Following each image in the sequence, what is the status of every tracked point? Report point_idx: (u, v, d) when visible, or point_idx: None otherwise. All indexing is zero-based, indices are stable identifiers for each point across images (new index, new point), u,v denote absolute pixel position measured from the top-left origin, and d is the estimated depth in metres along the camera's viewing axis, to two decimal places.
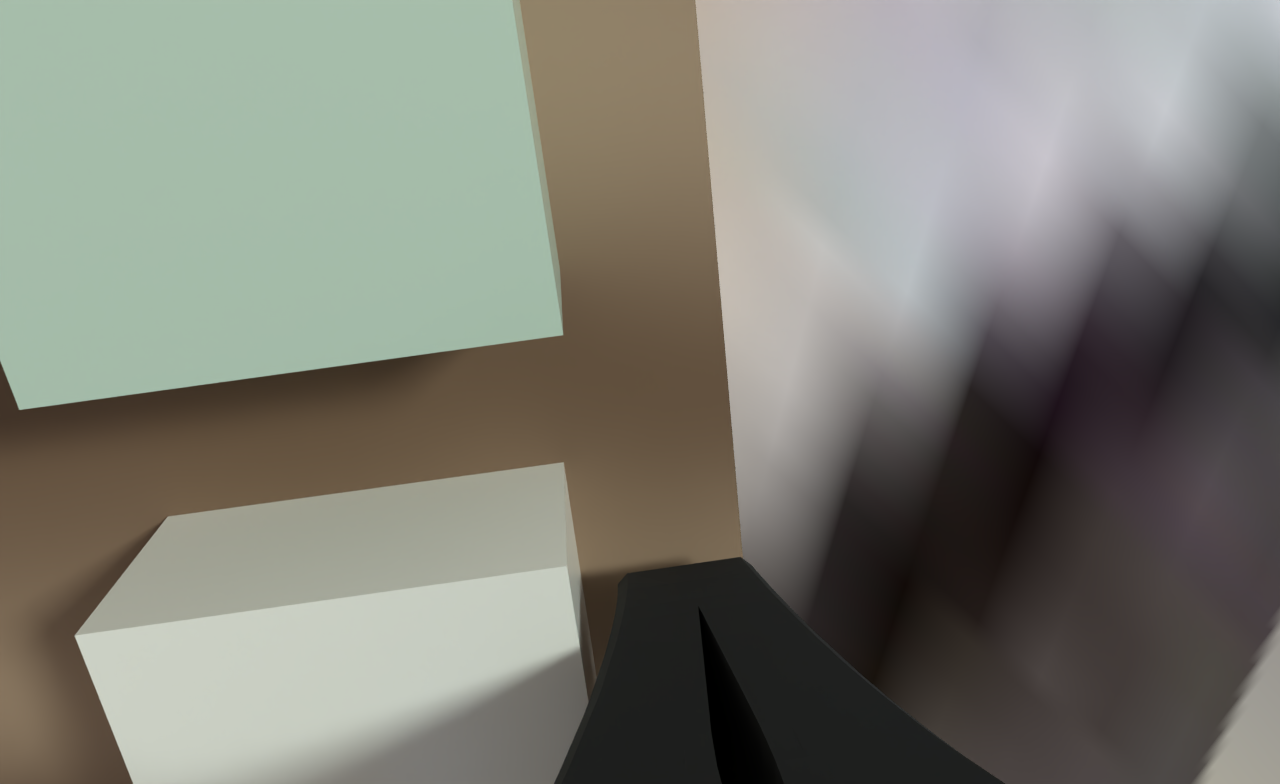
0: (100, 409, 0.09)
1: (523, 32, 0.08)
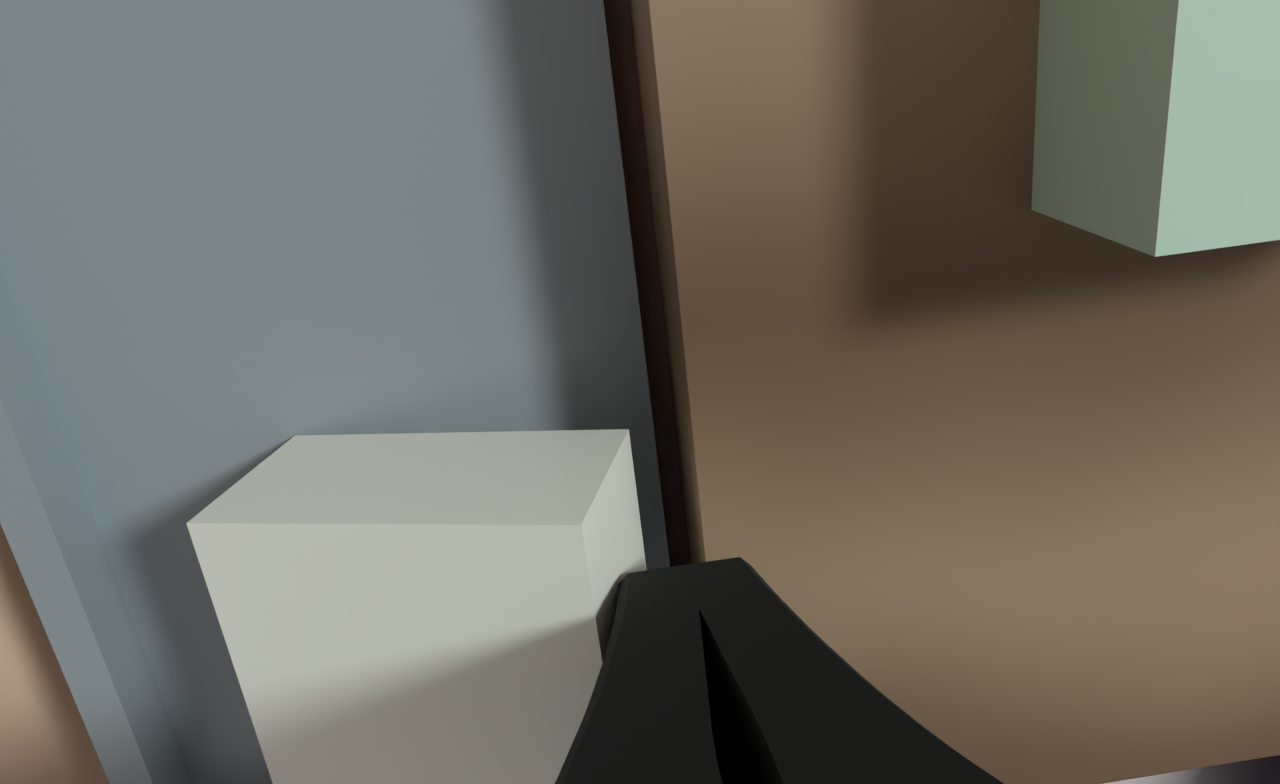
0: (977, 291, 0.09)
1: None
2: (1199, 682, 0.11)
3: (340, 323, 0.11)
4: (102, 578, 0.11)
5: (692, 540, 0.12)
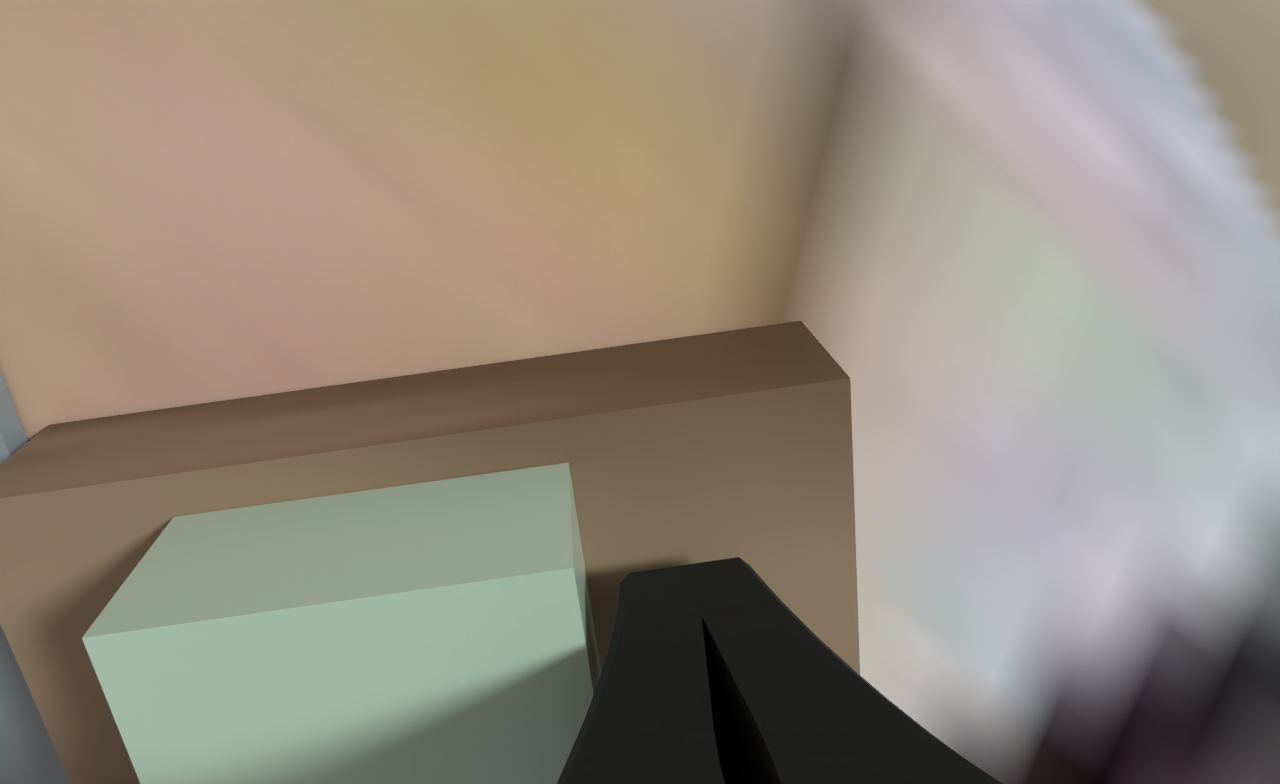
0: None
1: (593, 633, 0.10)
2: None
3: None
4: None
5: None
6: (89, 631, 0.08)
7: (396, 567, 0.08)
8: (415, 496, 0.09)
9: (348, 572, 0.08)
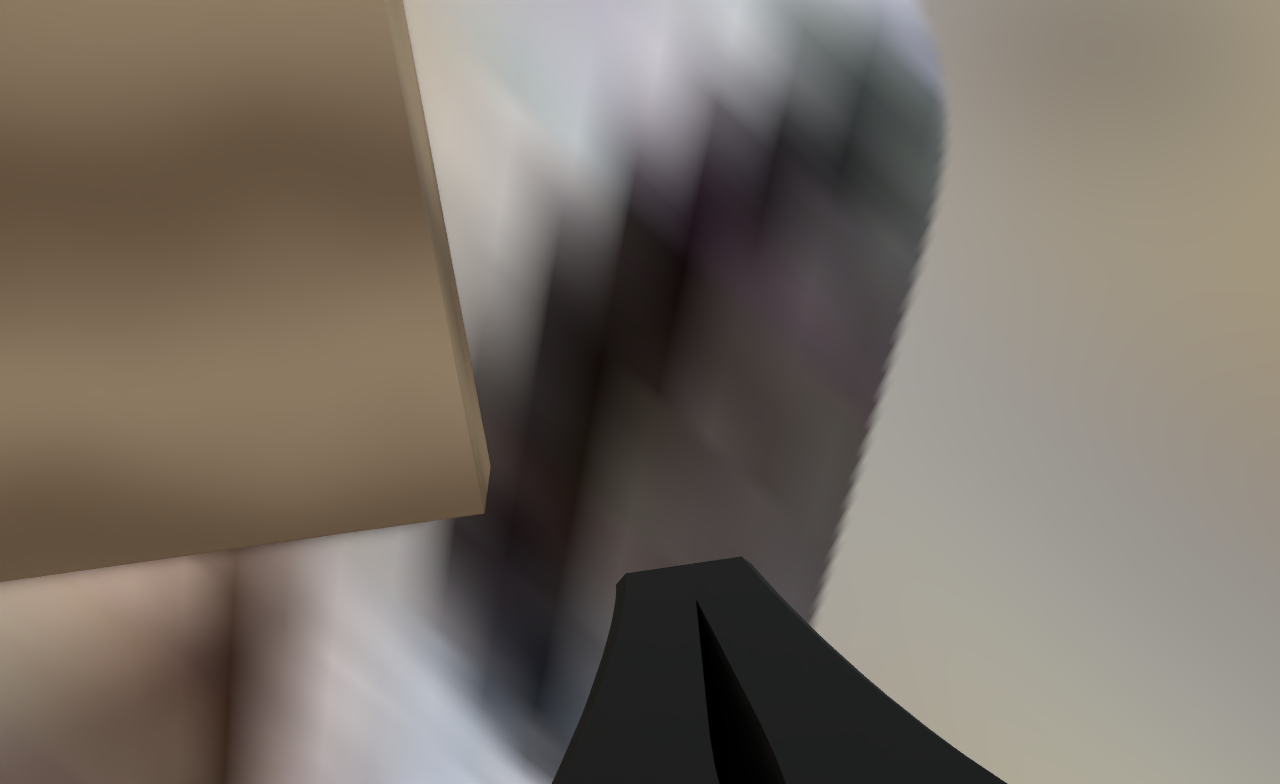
0: (23, 187, 0.15)
1: None
2: (296, 470, 0.17)
3: None
4: None
5: None
6: None
7: None
8: None
9: None
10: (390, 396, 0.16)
